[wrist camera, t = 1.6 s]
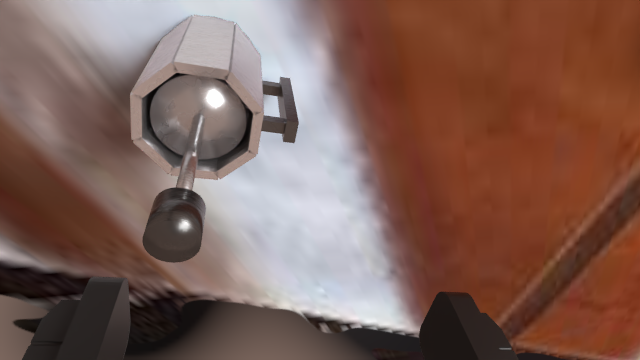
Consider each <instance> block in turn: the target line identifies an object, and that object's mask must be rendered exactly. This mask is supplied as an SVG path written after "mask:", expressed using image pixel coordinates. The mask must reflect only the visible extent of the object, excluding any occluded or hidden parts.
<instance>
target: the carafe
mask: <svg viewBox="0 0 640 360" xmlns="http://www.w3.org/2000/svg"><path fill="white" fill-rule="evenodd" d="M181 73H184V74H190V75H197V76H203V77H210V78H216V79H223V80H225V81H226V82H227V83H228V84H229V85H230V86H231V88H232V89H233V90H234V91H235V92H236V94H237V95H238V96H239V97H240V98H241V99H242V101H243V103H244V105H245V109H246V128H245V132H244V135H243V137H242V139H241V141H240V142H239V143H238V145H237V146H236V147H235V148H234V149H232V150H231V151H230V152H228V153H226V154H225V155H222V156H220V157H216V158H212V159H198V162H197V168H196V173H195V178H204V179H214V180H218V178H219V179H221V178H223V177H225V176H226V175H228V174H229V173H231V172H232V171H234V170H235V169H237V168H238V167H240V166H242V165H243V164H245V163H246V162H248V161H249V160H251V159H252V158H254V157H255V156H256V154H258V147H259V141H260V135H261V131H266V132H273V133H281V134H282V137H283V142H290V143H294V142H295V138H296V133H297V128H298V123H299V122H298V117H297V112H296V107H295V102H294V97H293V92H292V87H291V82H290V78H284V77H280V82H279V83H274V82H268V81H262V69H261V57H260V54H259V52H258V51H257V50H256V48H255V47H254V46H253V44H252V42H251V41H250V39H249V38H248V36H247V35H246V34H245V33H244V32H243V31H242V30H241V28H240V27H239V26H238V24H237V23H236V24H235V25H234V22H232V21H227V20H224V19H221V18H217V17H211V16H199V15H194V16H192V15H191V16H190V17H189V18H188V19H186V20H185V21H184V22H182V23H180V24H179V25H177V26H176V27H175V28H174V29H173V30H172V31H171V32H169V33H168V34H167V35H165V36H164V37H163V38H162V39H161V41H160V43H159V44H158V46H157V48H156V50H155V51H154V53H153V55H152V56H151V58H150V60H149V62H148V63H147V65H146V67H145V69H144V70H143V72H142V74H141V76H140V77H139V79H138V81H137V83H136V84H135V86H134V88H133V89H132V91H131V93H130V111H131V140H133V143H134V144H135V145H136V146H138V147H139V148H140V149H141V150H142V151H143V152H144V153H145V154H146V155H148V156H149V157H150V158H151V159H152V160H153V161H154V162H155V163H156V164H158V165H159V166H160V167H161V168H162V169H163V170H164V171H165V172H166V173H167V174H169V173H171V175H173V176H179V173H180V169H181V165H182V161H183V156H182V155H180V154H178V153H176V152H174V151H172V150H171V149H169V148H168V147H167V146H166V145H164V144H163V142H162V141H161V140H160V139H159V138H158V136H157V135H156V133H155V131H154V129H153V127H152V124H151V119H150V107H151V103H152V100H153V98H154V96H155V94H156V92H157V90H158V89H159V87H160V86H161V85H162V84H163V83H164V82H165V81H166V80H168V79H169V78H171V77H173V76H175V75H177V74H181ZM263 94H266V95H273V96H278V105H279V113H280V118H279V117H271V116H264V105H263Z"/></svg>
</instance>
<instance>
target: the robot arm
mask: <svg viewBox="0 0 640 360" xmlns="http://www.w3.org/2000/svg"><path fill="white" fill-rule="evenodd" d="M129 330H130V308H129V291H128V280H127V278H114V277H92V278H91V279H90V280H89V282H88V284H87V286H86V289H85V291H84V293H83V296H82V298H81V300H61V301H60V302H59V303H58V304H57V305H56V306H55V307H54V308H53V309H52V310H51V311H50V312H49V313H48V314H47V315H46V316H45V317H44V318H43V319H42V320H41V322H40V324H39V326H38V328H37V330H36V332H35V335H34V337H33V339H32V341H31V345H30V346H29V347H28V349H27V351H26V353H25V355H24V357H23V359H22V360H123V357H124V353H125V350H126V346H127V342H128V337H129ZM419 339H420V347H421V350H422V353H423V356H424V359H425V360H519V359H518V358H517V356H516V354H515V352H514V351H512V350H511V348H512V347H511V345H510V343H509V342H508V340H507V338H506V336H505V335H504V333H503V331H502V329H501V328H500V327H499V326H498V325H497V324H496V323H495V322H494V321H493V320H492V319H491V318H490V317H489V316H488V315H487V314H486V313H480V311H479V309H478V308H477V306H476V304H475V302H474V300H473V299H472V297H471V296H470V295H469V294H468V293H460V292H439V293H438V294H437V295H436V297H435V299H434V301H433V303H432V305H431V307H430V309H429V311H428V313H427V315H426V317H425V319H424V321H423V323H422V325H421V328H420V334H419Z"/></svg>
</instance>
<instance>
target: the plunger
mask: <svg viewBox="0 0 640 360" xmlns="http://www.w3.org/2000/svg"><path fill="white" fill-rule="evenodd" d="M150 119H151V124H152V127H153V129H154V131H155V133H156V135H157V136H158V138H159V139H160V140H161V141H162V142H163V144H164V145H166V146H167V147H168V148H169V149H171V150H172V151H174V152H176V153H178V154H180V155H182V156H183V161H182V165H181V169H180V173H179V177H178V181H177V185H176V188H169V189H166V190H164V191H162V192H161V193H159V194H158V195H157V196H156V198H155V200H154V203H153V206H152V209H151V212H150V216H149V219H148V222H147V226H146V229H145V232H144V235H143V245H144V248H145V249H146V251H147V252H148V253H149V254H150V255H151V256H153V257H154V258H156V259H159V260H161V261H165V262H183V261H186V260H189V259H190V258H192V257H194V256H195V255H196V254H197V253H198V251H199V250H200V247H201V240H202V233H203V226H204V219H205V212H206V206H205V203H204V201H203V199H202V198H201V197H200V196H199V195H198V194H197V193H195V192H194V191H192V188H193V183H194V178H195V173H196V168H197V162H198V159H212V158H216V157H220V156H222V155H225V154H226V153H228V152H230V151H231V150H232V149H234V148H235V147H236V146H237V145H238V143H239V142H240V141H241V139H242V137H243V135H244V132H245V128H246V109H245V105H244V103H243V101H242V99H241V98H240V97H239V96H238V95H237V94H236V92H235V91H234V90H233V89H232V88H231V86H230V85H229V84H228V83H227V82H226V81H225V80H223V79H216V78H210V77H203V76H197V75H190V74H184V73H181V74H177V75H175V76H173V77H171V78H169V79H168V80H166V81H165V82H164V83H163V84H162V85H161V86H160V87H159V89H158V90H157V92H156V94H155V96H154V98H153V100H152V103H151V107H150Z"/></svg>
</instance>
